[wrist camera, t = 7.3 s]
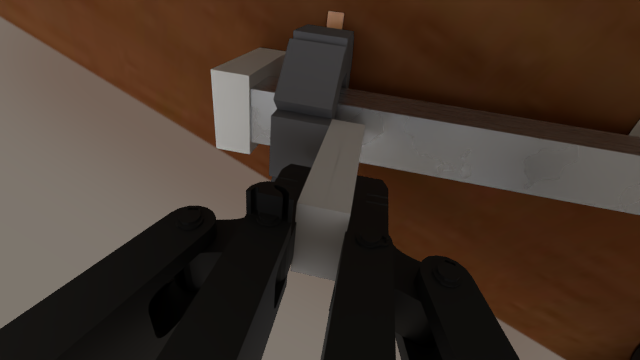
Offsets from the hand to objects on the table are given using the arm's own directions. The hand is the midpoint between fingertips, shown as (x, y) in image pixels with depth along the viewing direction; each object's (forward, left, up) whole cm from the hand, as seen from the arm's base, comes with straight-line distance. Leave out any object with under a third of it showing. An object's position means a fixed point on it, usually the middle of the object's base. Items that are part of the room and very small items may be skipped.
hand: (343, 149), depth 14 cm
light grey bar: (-6, 0, -5) cm, 8 cm away
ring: (+2, 0, -9) cm, 9 cm away
